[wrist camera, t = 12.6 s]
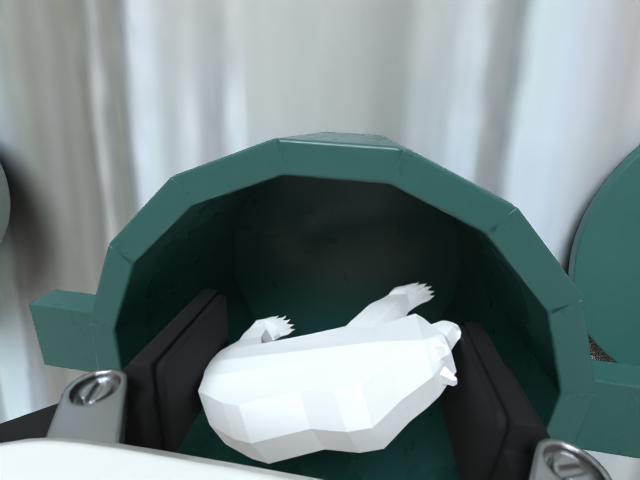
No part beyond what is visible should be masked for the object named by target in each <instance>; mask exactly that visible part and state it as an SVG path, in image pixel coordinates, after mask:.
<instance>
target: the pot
mask: <svg viewBox="0 0 640 480" xmlns="http://www.w3.org/2000/svg"><path fill="white" fill-rule="evenodd" d="M109 245H110V246H109V247H108V251H107V255H106V258H105V262H104V266H103V270H102V274H101V278H100V281H99V285H98V289H97V293H96V295H93V294H85V293H78V292H70V291H62V290H54V291H52V292H50V293H48V294H46V295H44V296H43V297H41V298H39V299H37V300H35V301H33V302H31V303H30V304H29V306H30V310H31V314H32V318H33V321H34V325H35V329H36V333H37V337H38V341H39V344H40V348H41V352H42V356H43V360H44V364H45V365H51V366H57V367H64V368H70V369H76V370H83V371H89V372H92V371H95V370H99V369H106V368H114V369H119V370H121V371H122V370H123V369H124V368H125V367H126V366H127V365H128V364H129V363H130V361H131V360H133V359H134V358H135V357H136V356H137V355H138V354H139V353H140V352H141V351H142V350H143V349H144V348H145V347H146V346H147V345H148V344H149V343H150V342H151V341H152V340H153V339H154V338H155V337H156V336H157V335H158V334H159V333H160V332H161V331H162V330H163V329H164V328H165V327H166V326H167V325H168V324H169V323H170V322H171V321H172V320H173V319H174V318H175V317H176V316H177V315H178V314H179V313H180V312H181V311H182V310H183V309H184V308H185V307H186V306H187V305H188V304H189V303H190V302H191V301H192V300H193V299H194V298H195V297H196V296H197V295H198V294H199V293H200V292H201V291H202V290H203V289H214V290H221V291H222V295H226V297H227V319H228V346H230V345H232V344H233V343H235V342H237V341H239V340H240V338H241V337H242V335H243V334H244V332H246V331H247V330H248V329H250V327H251V326H252V325H253V324H254V323H255V321H256V320H261V319H266V318H270V317H276V316H278V317H277V318H282V317H285V316H286V317H285V318H284V319H283V320H289V319H290V320H289V321H288V323H287V324H291V325H292V324H294V325H293V326H291V327H290V328H291V329H295V330H293V331H292V332H291V333H289V334H288V335H285V336H281V337H279V338H278V339H276V340H274V341H278V340H283V339H288V338H293V337H298V336H303V335H308V334H313V333H317V332H322V331H326V330H331V329H335V328H340V327H344V326H347V325H348V324H349V323H350V322H351V321H352V320H353V319H354V318H355V317H356V316H357V315H358V314H359V313H361V312H362V311H363V310H364V309H365V308H366V307H367V306H368V305H369V304H371V303H373V302H375V301H378V300H380V299H382V298H384V297H386V296H387V295H389V293H390V292H391V291H392V290H393V289H394V288H395V287H399V286H405V285H409V284H412V283H418V282H419V283H418V284H417V285H419V284H426V283H427V284H426V285H425V286H424V287H430V286H432V287H431V288H429V289H428V290H429V291H434V292H433V293H431V294H430V295H431V296H434V295H435V296H434V297H432V298H431V299H430V300H429V301H427V302H424V303H422V304H420V305H418V306H416V307H415V308H413V309H412V310H410V311H409V312H408V314H407V315H406V316H409V315H412V314H417V315H419V316H421V317H422V318H424V319H425V320H426V321H428V322H429V323H430V324H434V323H437V322H440V321H450V322H453V323H455V324H457V325H460V323H461V321H468V322H475V323H481V324H482V326H483V328H484V329H485V331H486V333H487V335H488V337H489V338H490V340H491V342H492V344H493V345H494V347H495V349H496V351H497V352H498V354H499V356H500V358H501V359H502V361H503V363H504V365H505V367H506V368H509V369H510V370H511V371H512V372H513V374H514V375H515V377H516V379H517V381H518V382H519V384H520V386H521V388H522V389H523V391H524V393H525V394H526V396H527V398H528V400H529V401H530V403H531V405H532V406H533V408H534V410H535V412H536V413H537V415H538V417H539V418H540V420H541V422H542V424H543V425H544V427H545V429H546V430H547V432H548V434H549V436H550V437H551V438H555V439H560V440H564V441H567V442H569V443H571V444H574V445H576V446H578V447H579V448H581V449H584V450H590V451H597V452H603V453H610V454H616V455H622V456H629V457H635V458H640V366H638V365H630V364H622V363H615V362H607V361H599V360H592V359H591V351H590V343H589V336H588V328H587V320H586V312H585V304H584V300H583V295H582V294H581V292H580V291H579V290H578V288H577V287H576V286H575V284H574V283H573V282H572V280H571V279H570V278H569V276H568V275H567V274H566V272H565V271H564V270H563V268H562V267H561V266H560V264H559V263H558V262H557V260H556V259H555V257H554V256H553V255H552V253H551V252H550V251H549V249H548V248H547V247H546V245H545V244H544V243H543V241H542V240H541V239H540V237H539V236H538V235H537V233H536V232H535V231H534V229H533V228H532V226H531V225H530V224H529V222H528V221H527V220H526V218H525V217H524V216H523V214H522V213H521V212H520V210H519V209H518V208H517V207H515V206H513V204H511V203H509V202H508V201H506V200H504V199H502V198H500V197H498V196H496V195H494V194H492V193H491V192H489V191H487V190H485V189H483V188H481V187H479V186H477V185H475V184H474V183H472V182H470V181H468V180H466V179H464V178H462V177H460V176H459V175H457V174H455V173H453V172H451V171H449V170H447V169H445V168H443V167H442V166H440V165H438V164H436V163H434V162H432V161H430V160H428V159H426V158H424V157H423V156H421V155H419V154H417V153H415V152H413V151H411V150H409V149H407V148H405V147H404V146H402V145H400V144H398V143H396V142H394V141H392V140H390V139H388V138H386V137H383V136H378V135H364V134H349V133H335V132H322V133H314V134H307V135H299V136H291V137H283V138H275V139H272V140H269V141H266V142H264V143H261V144H258V145H255V146H253V147H250V148H247V149H245V150H242V151H239V152H236V153H234V154H231V155H228V156H226V157H223V158H220V159H217V160H215V161H212V162H209V163H207V164H204V165H201V166H198V167H196V168H193V169H190V170H188V171H185V172H182V173H179V174H177V175H175V176H174V177H171V178H170V179H169V180H168V181H167V182H166V183H165V184H164V185H163V186H162V188H161V189H160V190H159V191H158V192H157V193H156V194H155V195H154V196H153V197H152V198H151V199H150V200H149V202H148V203H147V204H146V205H145V206H144V207H143V208H142V209H141V210H140V211H139V212H138V213H137V214H136V216H135V217H134V218H133V219H132V220H131V221H130V222H129V223H128V224H127V225H126V226H125V227H124V228H123V230H122V231H121V232H120V233H119V234H118V235H117V236H116V237H115V238H114V239H113V240H112V241H111V243H110V244H109ZM175 453H179V454H185V455H191V456H196V457H202V458H207V459H213V460H219V461H224V462H230V463H235V464H241V465H247V466H252V467H257V468H263V469H268V470H274V471H279V472H285V473H290V474H295V475H301V476H306V477H312V478H317V479H322V480H460V477H459V473H458V470H457V466H456V462H455V458H454V454H453V450H452V446H451V442H450V438H449V434H448V431H447V427H446V423H445V419H444V415H443V411H442V407H441V403H440V399H439V397H438V398H437V399H436V400H435V401H434V402H433V403H432V404H431V405H430V406H429V407H428V408H426V409H425V410H424V411H423V412H421V413H420V414H419V415H417V416H416V417H415V418H414V419H412V420H411V421H410V422H409V423H408V424H407V425H406V426H405V427H404V428H403V429H402V430H401V431H400V433H399V434H398V435H397V436H396V437H395V438H394V439H393V440H392V441H391V442H390V443H389V444H388V445H387V446H386V447H385V448H384V449H380V450H374V451H368V452H362V453H356V452H346V451H336V450H326V449H324V450H320V451H316V452H313V453H309V454H305V455H301V456H297V457H293V458H289V459H285V460H281V461H277V462H273V463H270V464H268V463H265V462H261V461H258V460H254V459H251V458H250V457H248V456H246V455H244V454H242V453H241V452H239V451H237V450H235V449H233V448H231V447H230V446H228V445H226V444H225V443H224V442H223V441H222V439H221V438H220V437H219V436H218V434H217V433H216V432H215V431H214V430H213V428H212V427H211V426H210V425H209V422H208V419H207V416H206V413H205V410H204V408H202V410H201V411H200V413H199V415H198V416H197V418H196V420H195V422H194V423H193V425H192V427H191V428H190V430H189V432H188V433H187V435H186V437H185V439H184V440H183V442H182V444H181V445H180V447H179V449H178V450H177V451H176V452H175Z"/></svg>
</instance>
